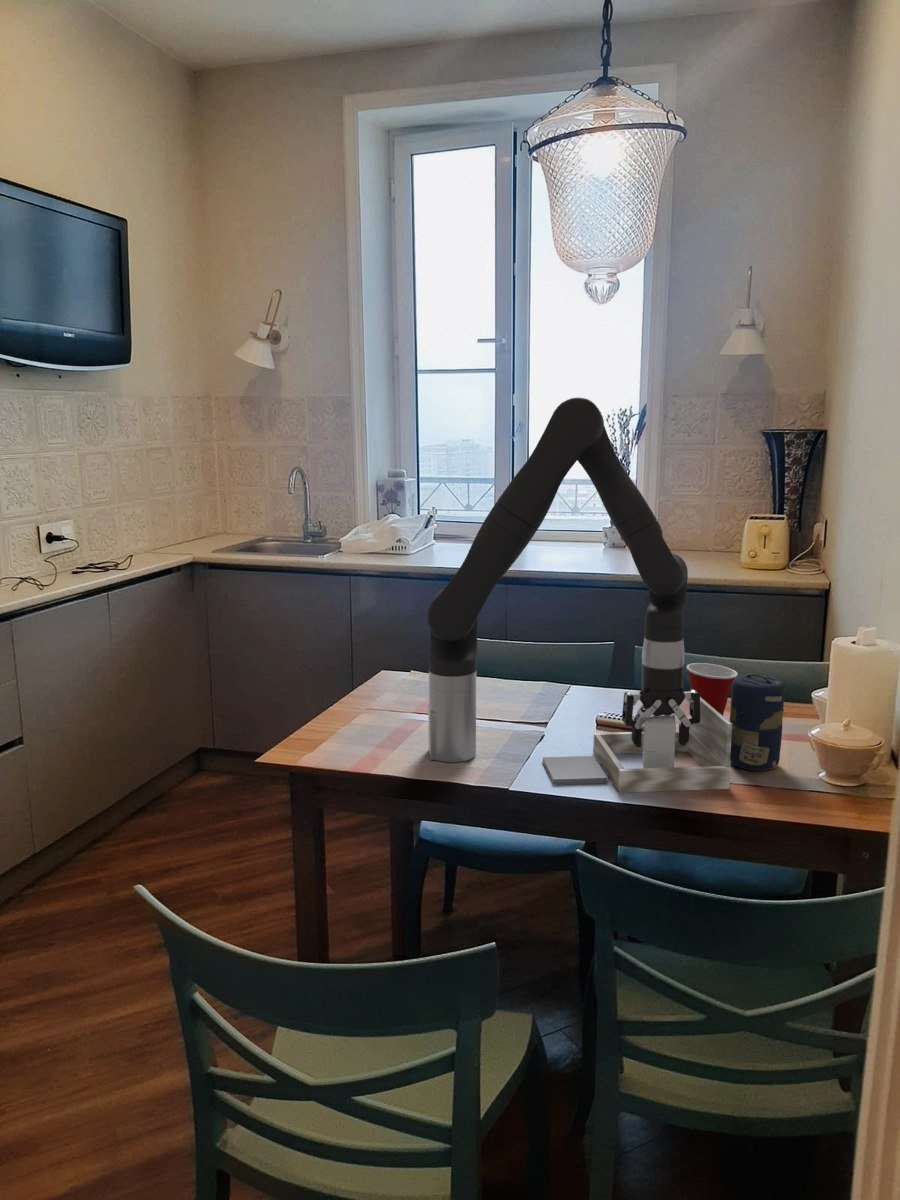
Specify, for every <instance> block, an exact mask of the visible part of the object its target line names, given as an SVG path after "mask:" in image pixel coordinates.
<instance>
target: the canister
mask: <svg viewBox="0 0 900 1200" xmlns="http://www.w3.org/2000/svg"><path fill="white" fill-rule="evenodd" d="M785 694H786V686H785V683H784V682H783V681H782V680H780V679H779V678H777V677H774V676H769V675H763V674H760V673H758V674H757V673H749V674H741V675H737V677H735V678H734V680H733V683H732V685H731V697H730V698H731V699H730V711H729V722H730V723H732V737H731V753H730V763H731V764H733V765H734V766H737V768H741V769H744V770H750V771H768V770H771V769H774V768H776V767H777V766H778V765H779V763H780V759H781V746H782V738H783V737H782V736H783V720H784V719H783V716H784V706H785V705H784V704H785V696H786V695H785Z"/></svg>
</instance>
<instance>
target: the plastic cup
mask: <svg viewBox="0 0 900 1200" xmlns="http://www.w3.org/2000/svg"><path fill="white" fill-rule="evenodd" d="M686 670H687V671H688V673H687V674H688V677H689V681H688V682H689V685H690V690H691V689H694V690H695V691H697V692H698V693H699V694H700V697H701V698H702V699H703V700H704V701H706V702H707V703H708V704H709V705H710V706H712V707H713V708H714V709H715V710H716V711H717V712H719V713H720V714H721V715H722V716H723V717H724V713H725V709H726V707H727V703H728V700H729V696H730V691H731V688H732V683H733V680H734V679H735V678H736V677H738V672H737V671H736V670H734V669H732V668H729V667H727V666H724V665H719V664H714V663H708V662H707V663H704V662H696V663H695V662H693V663H689V664H687V665H686Z"/></svg>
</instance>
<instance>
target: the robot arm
mask: <svg viewBox="0 0 900 1200" xmlns="http://www.w3.org/2000/svg"><path fill="white" fill-rule="evenodd" d="M598 407H599V406H597V404H595V403H594V402H593V401H592V400H590V399H588V398H585V397H582V396H581V397H579V396H578V397H577V396H576V397H571V398H567V399H566V400H564V401H562V402H561V403H560V404H559V405H558V406H557V407H556V408H555V410H554V411H553V413H552V415H551V417H550V419H549V421H548V423H547V425H546V426H545V429H544V431H543V433H542V435H541V437H540V438H539V441H538V442H537V444H536V446H535V448H533V449H534V450H533V451H532V452H531V455H530V456H529V457H528V459H527V460H526V462H525V463H524V465H523V466H522V467H521V468H520V470H519V471H518V472H517V473H516V474H515V476H514V477H513V478H512V480H511V481H510V482H509V484H508V485H507V487H506V488H505V489H504V490H503V492H502V494H501V495H500V496H499V497H498V499H497V501H496V502H495V503H494V505H493V507H492V508H491V509H490V511H489V513H488V515H487V516H486V517H485V518H484V519H485V520H484V521H483V523H482V524H481V526H480V528H479V530H478V532H476V536H475V537H474V539H473V542H472V544H471V545H470V548H469V550H468V553H467V554H466V557H465V558H464V561H463V562H462V563H461V566H460V568H458V570H457V572H456V573H455V574H454V575H453V576H452V578H451V579H450V581H448V583H447V584H446V586H445V587H444V588H442V589H441V590H439V591H438V592H437V593H435V595H434V596H433V598H432V600H431V602H430V603H429V605H428V609H427V613H426V617H427V624H428V628H429V629H430V631H429V632H430V637H429V638H430V642H429V643H430V644H429V652H428V653H429V654H428V689H429V690H428V696H429V697H428V706H427V707H428V713H427V714H428V715H427V717H428V753H429V760H430V761H438V762H439V761H440V762H445V763H459V762H460V763H461V762H466V761H469V760H472V759H474V758H475V757H476V756H477V755H476V754H477V659H478V658H477V656H478V617H479V614H480V612H481V611H482V609H483V608H484V605H485V603H486V602H487V600H488V599H489V597H490V595H491V593H492V591H493V590H494V588H495V587H496V585H497V584H498V583H499V582H500V580H501V579H502V578H503V577H504V576H505V574H506V573H507V572H508V571H509V569H510V568H511V567H512V566H513V564H514V563H515V562H516V561H517V559H518V558H519V557H520V555H521V554H522V552H523V551H524V550H525V549H526V547H527V546H528V545H529V544H530V542H531V540H532V538H533V537H535V536H534V535H535V534H536V533H537V531H538V530H539V528H540V527H541V525H542V523H543V521H544V520H545V518H546V516H547V515H548V513H549V510H550V508H551V507H552V503H553V502H554V499H555V498H556V495H557V493H558V491H559V488H560V486H561V484H562V482H563V481H564V479H565V477H566V476H567V474H568V473H569V472H570V470H571V469H572V468H573V467H574V465H575V464H576V463H577V462H578V463H579V464H580V466H581V467H582V469H583V470H584V471H585V473H586V474H587V476H588V477H589V479H590V481H591V482H592V484H593V486H594V487H595V489H596V492H597V494H598V496H599V498H600V500H601V503H602V505H603V507H604V509H605V511H606V513H607V515H608V516H609V519H610V520H611V522H612V524H613V525H614V527H615V529H616V531H617V532H618V534H619V535H620V537H621V539H622V540H623V542H624V545H626V548H628V550H629V552H630V555H631V558H632V560H633V562H634V565H635V568H636V570H637V572H638V574H639V576H640V578H641V580H642V581H643V583H644V584H645V586H646V588H647V589H648V590H649V591H648V593H649V594H648V606H647V608H646V612H645V617H644V637H643V645H642V653H641V689H640V691H639V693H637V692H636V693H633V692H632V693H631V692H630V691H628V690H627V691H625V692H624V693H623V703H622V712H621V720H622V722H623V723H624V725H626V727H631V732H632V738H631V740H632V742H633V743H634V744H635V746H636V747H641V740H642V732H643V729H642V726H644V723H645V720H648V719H649V718H650V717H651V716H652V715H654V716H661V715H666V716H671V714H673V713H674V716H676V718H677V719H678V720H679V722H680V723H679V725H678V731H679V744H680V745H681V746H686V743H688V741H689V728H690V726H691V725H692V724H694V723H699V722H700V694H699V693H698V692H697V691H695V690H694V689H691V688H690V690H689V691H684V689H683V688H684V672H685V671H684V670H685V669H684V667H685V643H684V635H685V634H684V633H685V632H684V631H685V630H684V629H685V628H684V627H685V615H684V613H685V611H684V610H685V603H686V598H687V597H686V595H687V587H688V574H689V573H688V566H687V564H686V561H685V559H683V558H682V557H681V556H680V555H678V554H677V553H673V552H672V551H671V549H670V547H669V546H668V544H667V542H666V541H665V538H664V536H663V529H662V527H661V525H660V523H659V521H658V520H657V517H656V516H655V514H654V512H653V510H652V508H650V505H649V504H648V502H647V500H646V499H645V497H644V496H643V495H642V492H640V490H639V488H638V486H636V484H635V482H634V481H633V480H632V479H631V477H630V475H629V474H628V473H627V471H626V469H625V468H624V466H623V464H622V463H621V461H620V460H619V458H618V455H617V454H616V452H615V449H614V447H613V445H612V443H611V440H610V437H609V435H608V432H607V430H606V427H605V422H604V421H605V420H604V417H603V414H602V411H600V409H599V408H598ZM685 699H686V701H687V702H688V704H689V710H688V711H689V715H686V714H685V713H684V711H683V710H682V708H680V705H682V703H683V702H684V700H685ZM638 701H640V703H641V706H640V707H639V708H638V710H637V712H636V713H635V715H634V717H633V713H634V706H636V704H637V703H638ZM648 713H649V714H648Z"/></svg>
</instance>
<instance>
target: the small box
mask: <svg viewBox="0 0 900 1200" xmlns="http://www.w3.org/2000/svg"><path fill="white" fill-rule="evenodd" d="M648 714H649V713H648ZM675 716H676V715H675V714H674V713H673V714H671V716H666V715H661V716H654V715H652V716H651V717H650V718H649V719H648V720H645V723H644V724H643V732H644V740H643V753H642V768H672V767H675V755H676V754H675V733H676V731H677V722H676V717H675Z"/></svg>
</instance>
